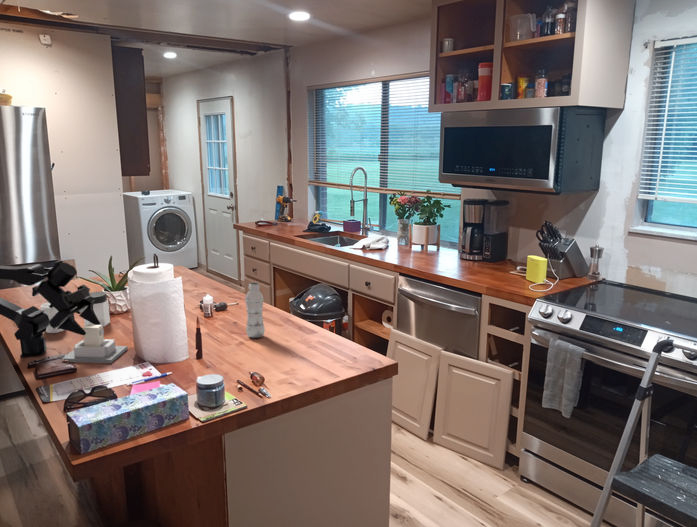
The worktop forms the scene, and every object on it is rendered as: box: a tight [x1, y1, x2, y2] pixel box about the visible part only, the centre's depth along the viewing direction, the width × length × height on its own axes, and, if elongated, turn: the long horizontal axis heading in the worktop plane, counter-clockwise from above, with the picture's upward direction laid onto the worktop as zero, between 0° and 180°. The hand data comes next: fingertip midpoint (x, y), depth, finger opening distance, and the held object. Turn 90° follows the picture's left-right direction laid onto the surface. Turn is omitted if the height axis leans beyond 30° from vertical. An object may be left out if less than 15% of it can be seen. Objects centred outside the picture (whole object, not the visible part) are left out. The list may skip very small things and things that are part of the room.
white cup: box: [40, 301, 65, 334], centre depth 205 cm, size 8×8×10 cm
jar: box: [83, 291, 111, 328], centre depth 211 cm, size 9×8×12 cm
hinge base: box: [61, 338, 128, 364], centre depth 182 cm, size 16×12×4 cm
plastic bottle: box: [244, 282, 266, 339], centre depth 200 cm, size 6×7×20 cm
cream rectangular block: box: [82, 324, 105, 347], centre depth 181 cm, size 6×3×9 cm, turn 87°
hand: (92, 329), depth 181 cm, fingers open, 9 cm apart
